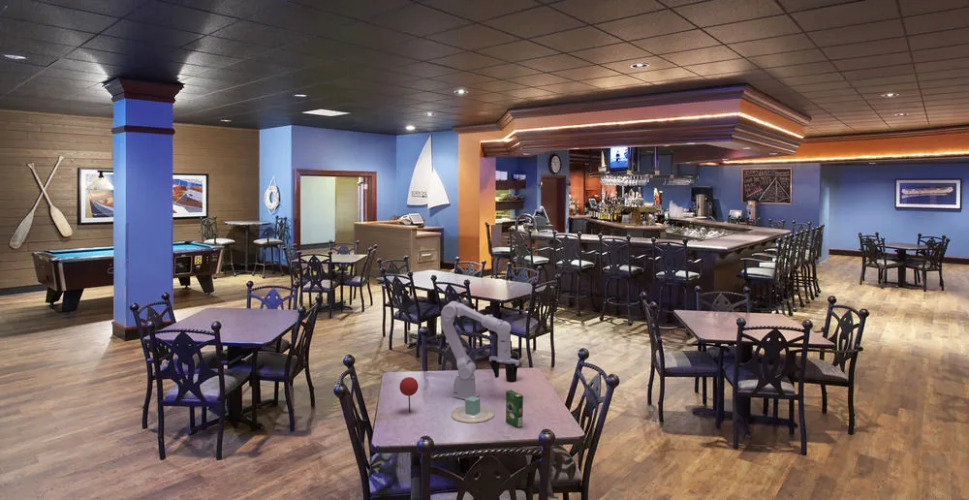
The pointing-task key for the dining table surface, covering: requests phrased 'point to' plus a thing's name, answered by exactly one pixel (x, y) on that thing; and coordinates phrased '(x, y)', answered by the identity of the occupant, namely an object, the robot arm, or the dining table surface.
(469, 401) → the teal block
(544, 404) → the dining table surface
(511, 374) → the robot arm
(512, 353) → the drinking cup
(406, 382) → the lollipop
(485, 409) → the serving plate
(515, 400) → the coffee box
